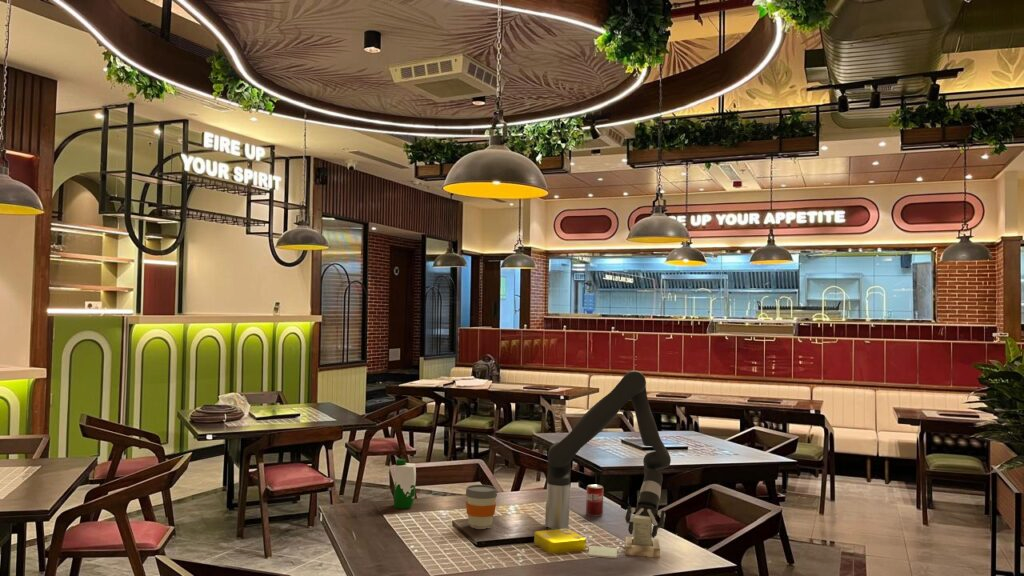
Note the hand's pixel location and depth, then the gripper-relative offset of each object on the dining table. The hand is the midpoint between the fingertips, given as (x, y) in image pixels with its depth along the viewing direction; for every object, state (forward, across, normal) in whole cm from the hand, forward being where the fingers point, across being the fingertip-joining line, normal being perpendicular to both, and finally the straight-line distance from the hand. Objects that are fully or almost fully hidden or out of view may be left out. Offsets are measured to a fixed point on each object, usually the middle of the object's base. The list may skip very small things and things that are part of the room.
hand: (641, 534), depth 257 cm
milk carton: (-3, -107, +12) cm, 108 cm away
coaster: (+10, -12, -1) cm, 16 cm away
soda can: (-25, -30, +34) cm, 52 cm away
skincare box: (+3, 0, +6) cm, 7 cm away
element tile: (+10, -28, -1) cm, 30 cm away
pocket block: (+3, 0, +5) cm, 6 cm away
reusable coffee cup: (+5, -65, +4) cm, 65 cm away
